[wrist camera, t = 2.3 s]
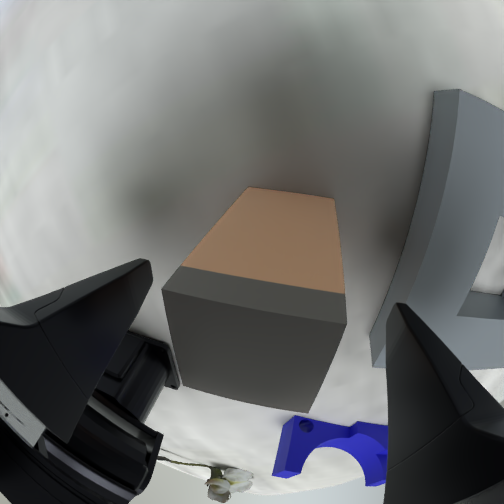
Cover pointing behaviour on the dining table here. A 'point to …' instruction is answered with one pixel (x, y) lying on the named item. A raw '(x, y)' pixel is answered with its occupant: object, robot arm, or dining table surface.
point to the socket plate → (454, 234)
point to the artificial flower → (223, 481)
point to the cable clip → (331, 435)
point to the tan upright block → (261, 301)
